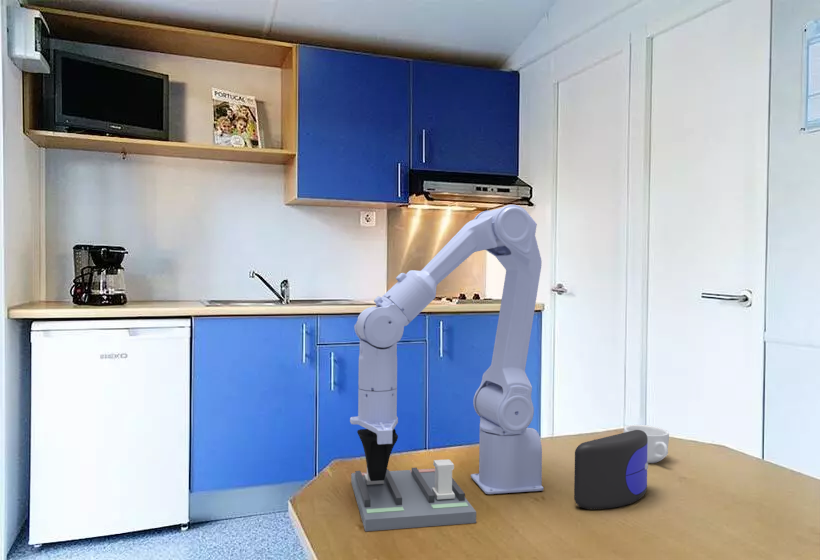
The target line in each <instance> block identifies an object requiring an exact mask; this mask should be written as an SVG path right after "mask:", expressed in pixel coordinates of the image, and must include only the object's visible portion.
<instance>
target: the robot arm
mask: <svg viewBox="0 0 820 560" xmlns="http://www.w3.org/2000/svg"><path fill="white" fill-rule="evenodd" d="M537 227H538V224H537V222H536V221H535V220H534V218H533V217H532V216H531V215H530V214H529V212H528V211H527V210H526V209H525V208H524V207H522V206H520V205H516V204H507V205H504V206H503V207H500V208H496V209H491V210H490V209H487V210H484V211H481V212H479V213H478V214H477V215H476V216H475V217H474V218H473V219H471V220H470V221H468V222H466V223H465V224H464V225H463V226H462V227H461V228H460V229H459V231H458V232H457V233H456V234H454V236H453V237H452V238H450V240H449V241H448V242H447V243H446V244H445V245H444V246H443V247H442V248H441V249H440V251H438V252H437V254H435V255H434V256H433V258H432V259H431V260H430V261H429V262H428V263H427V264H426V265H425V266H424V267H423V268H422V269H421V270H417V269H416V270H414V269H413V270H412V269H411V270H408V272H406V273H405V272H401V273H399V274H398V275H397V276H396V277H395V279H396V280H397V282H396V283H394V284H393V285H392V286H391V288H389V289H388V290H387V291H386V292H385V293H384V294H383V295H382V296H379V295H378V296H376V297H375V298H374V300H373V302H374V303H375V305H376V306H371V307H370V306H369V307H366V308H365V309H363V310H362V311H361V312H360V313H359V315H358V317H357V320H356V322H355V324H354V326H353V328H354V332H355V335H356V336H357V338H358V339H359V348H358V349H359V355H358V387H357V388H358V389H357V391H358V392H357V393H358V394H357V395H358V396H357V397H358V400H357V401H358V405H357V406H358V408H357V409H358V410H357V416H351V417H350V418H349V422H350V425H358V426H360V427H362V429H361V428H360V429H358V430H357V431H356V432H357V435H358V437H359V439H360V442H361V444H362V447H363V451H364V456H365V463H366V471H367V470H368V475H369V478H370V481H381V480H384V479H385V475H386V471H387V469H388V467H389V462H390V457H391V453H392V451H393V448H394V446H395V445H396V443H397V441H398V438H399V435H398V434H397V433H396V432H397V431H396V429H395V428H396V426H397V425H398V423H399V417H398V416H397V414H398V413H397V411H398V410H397V409H398V407H397V405H398V356H397V355H398V353H397V352H398V349H397V347H398V342H400V341H401V339H402V338H403V335H404V330H405V327H406V326H408V325H409V324H410V323H411V322H412V321H413V320H414V319H415V318H416V317H417V316H418V315H420V313H422V311H423V310H425V309H426V308H427V306H429V304H430V303H432V302H433V301H434V300H435V299H436V295H437V286H438V285H439V284H440V283H441V282H442V281H443V280H445V278H447V277H448V276H449V275H450V274H451V273H453V271H455V270H456V269H457V268H458V267H459V266H461V264H463V262H465V261H466V260H467V259H468V258H470V256H472V255H473V254H474V253H478V252H481V251H482V252H483V251H487V252H488V253H490V254H491V255H493V256H494V257H495V258H496V259H497V261H498V262H499V263H500V264H501V266H502V267H503V268H504V269H505V275H504V283H503V284H504V285H503V288H502V289H503V290H502V294H501V295H502V296H501V302H500V308H499V313H498V321H497V327H496V333H495V338H494V339H495V340H494V345H493V350H492V351H493V352H492V358H491V364H490V366H489V367H488V368H487V369H486V370H485V371H484V372H483V373H482V378H481V382H480V385H479V387H478V388H477V389H476V391H475V393H474V396H473V400H472V401H473V402H472V403H473V408H474V411H475V413H476V414H477V415H478V417H479V422H480V423H479V443H478V446H479V449H478V450H479V453H478V454H479V456H478V457H479V458H478V459H479V460H478V462H479V465H478V467H479V468H478V473H471V474H470V478H471V479H472V480H473V481H474V482H475V483H476V485H478V487H479V488H480V489H481V490H482V491H483V493H485V494H487V495H494V494H495V495H496V494H497V495H498V494H508V493H509V494H510V493H525V492H540V491H541V492H542V491H544V486H542V483H543V482H542V479H543V477H542V475H543V473H542V472H543V471H542V469H543V464H542V463H543V447H542V446H543V445H542V441H541V437H540V435H539V432H538V430H536V429H535V428H533V427H529V426H531V425H530V424H531V423H532V421H533V418H534V413H535V407H534V403H533V401H532V391H533V386H532V383H531V382H530V379H529V378H528V375H527V373H526V365H527V360H528V354H529V347H530V346H529V345H530V340H531V333H532V327H533V322H534V317H535V315H534V314H535V308H536V301H537V297H538V290H539V284H540V277H541V271H542V261H543V260H542V257H541V253H540V249H539V246H538V241H537V236H536V233H537V232H536V231H537Z"/></svg>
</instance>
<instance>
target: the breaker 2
mask: <svg viewBox="0 0 820 560" xmlns="http://www.w3.org/2000/svg"><path fill="white" fill-rule="evenodd" d="M432 464H433V466H434V469H435V488H432V492H433V494H434V495H435V497H436V499H437V500H439V499H454V498H455V494H454V492H453V491H452V478H453V470H454V469H455V464H454V463H453V461H451V459H433V463H432Z"/></svg>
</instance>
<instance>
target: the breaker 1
mask: <svg viewBox="0 0 820 560" xmlns="http://www.w3.org/2000/svg"><path fill="white" fill-rule="evenodd" d="M366 472H367V474H364V478H365V481H366V484H367V485H370V484H384V480H381V481H370V478H369V475H368V470H367V469H366Z"/></svg>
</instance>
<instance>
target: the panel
mask: <svg viewBox="0 0 820 560" xmlns="http://www.w3.org/2000/svg"><path fill="white" fill-rule="evenodd" d="M364 474H367V471H366V472H362V471H361V470H355V471H354V472H352V473H351V477H350V478H351V480H350V483H351V488H352V490H353V493H354V496H355V500H356V503H357V508H358V511H359V513H360V514H359V515H360V518H361V521H362V525H363V528H364V532H374V531H375V532H376V531H386V530H387V531H388V530H400V529H413V528H427V527H428V528H429V527H438V526H439V527H441V526H451V525H463V524H465V525H467V524H477V511H476V509H475V508H474V507H473V506H472V504H471V503H470V501H468V499H467V498H466V497H465V496H466V495H465V494H466V493H465V492H464V490H463V489H462V488H461V487H460V485H459V484H458V483H457V482H456V480H455V479H454V478H453V477H452V491H453V492H454V494H455V498H454V499H439V500H437V499H436V497H435V495H434V494H433V492H432V488H435V468H421V469H420V468H419V469H418V468H417V467H411V469H403V470H389V469H388V468H387V471H386V475H385V479H384V484H370V485H367V484H366V481H365V478H364Z"/></svg>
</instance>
